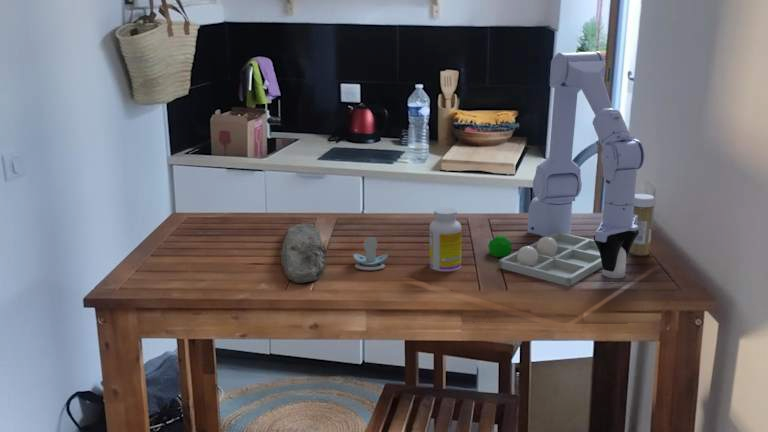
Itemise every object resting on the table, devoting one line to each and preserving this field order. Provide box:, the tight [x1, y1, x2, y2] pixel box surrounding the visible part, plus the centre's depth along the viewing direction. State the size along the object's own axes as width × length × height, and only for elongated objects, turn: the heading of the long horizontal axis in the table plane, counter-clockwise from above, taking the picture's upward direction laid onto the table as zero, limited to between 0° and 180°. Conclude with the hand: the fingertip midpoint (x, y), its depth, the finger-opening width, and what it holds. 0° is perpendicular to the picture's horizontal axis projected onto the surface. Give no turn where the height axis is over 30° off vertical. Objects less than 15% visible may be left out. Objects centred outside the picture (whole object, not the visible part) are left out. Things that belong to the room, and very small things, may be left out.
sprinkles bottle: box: [629, 193, 655, 256], centre depth 169 cm, size 5×5×13 cm
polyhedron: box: [488, 235, 513, 258], centre depth 171 cm, size 5×5×5 cm
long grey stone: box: [280, 222, 328, 284], centre depth 174 cm, size 35×5×10 cm
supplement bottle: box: [429, 207, 462, 272], centre depth 163 cm, size 7×7×13 cm
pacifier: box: [353, 236, 389, 271], centre depth 167 cm, size 7×6×6 cm
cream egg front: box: [517, 245, 538, 267], centre depth 163 cm, size 4×4×4 cm
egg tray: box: [498, 232, 603, 288], centre depth 167 cm, size 16×24×2 cm
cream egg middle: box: [537, 236, 557, 257], centre depth 169 cm, size 4×4×4 cm
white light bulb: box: [601, 247, 627, 279], centre depth 158 cm, size 4×4×6 cm
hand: (614, 266), depth 158 cm, fingers closed on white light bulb, 4 cm apart
